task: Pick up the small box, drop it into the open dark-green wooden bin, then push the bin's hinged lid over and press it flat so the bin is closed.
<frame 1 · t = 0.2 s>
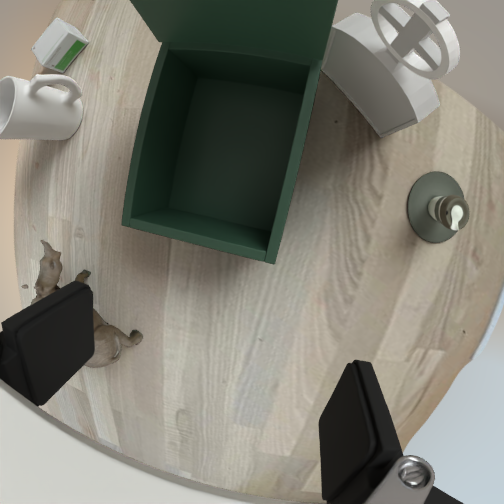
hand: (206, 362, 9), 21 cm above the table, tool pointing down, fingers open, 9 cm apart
small box: (70, 50, 27), on the table
bin: (235, 150, 28), on the table
mug: (76, 111, 29), on the table
gravestone: (360, 95, 25), on the table
rhinoceros figurine: (95, 297, 35), on the table
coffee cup: (434, 208, 27), on the table
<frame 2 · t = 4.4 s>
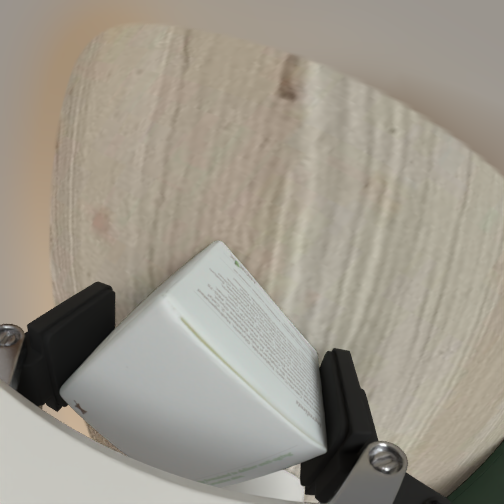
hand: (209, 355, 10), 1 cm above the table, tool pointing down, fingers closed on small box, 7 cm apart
small box: (217, 337, 11), on the table, touching gripper
bin: (493, 481, 12), on the table
mug: (277, 482, 13), on the table
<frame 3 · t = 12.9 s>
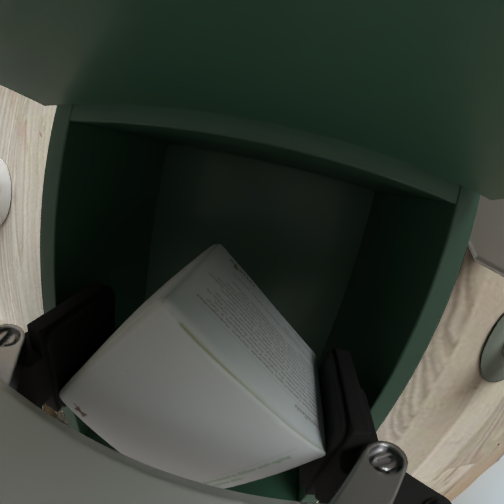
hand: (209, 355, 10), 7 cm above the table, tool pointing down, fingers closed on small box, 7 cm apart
small box: (216, 339, 11), point 6 cm above the table, touching gripper
bin: (242, 286, 17), on the table
mug: (4, 184, 18), on the table
gravestone: (456, 186, 14), on the table
when the fingers open (10 cm above the table, at t = 36.9 s): small box drops 9 cm, resting on bin.
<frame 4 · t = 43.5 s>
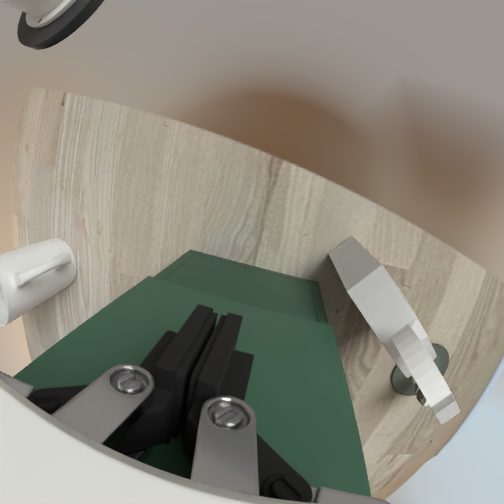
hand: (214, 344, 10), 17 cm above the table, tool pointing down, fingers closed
bin: (236, 335, 30), on the table
mug: (68, 258, 31), on the table
gravestone: (366, 281, 27), on the table
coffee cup: (418, 370, 29), on the table
bin lid: (203, 386, 11), point 17 cm above the table, hinge at 91.1°, touching gripper
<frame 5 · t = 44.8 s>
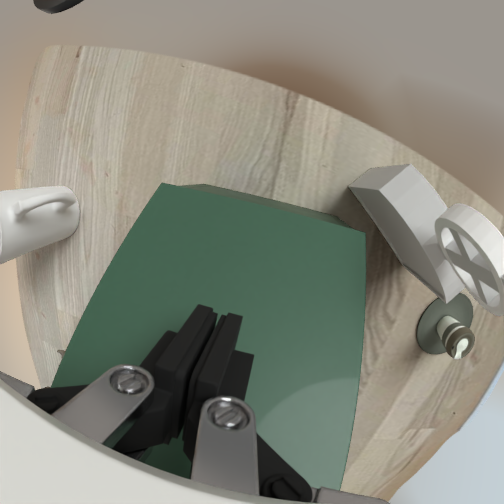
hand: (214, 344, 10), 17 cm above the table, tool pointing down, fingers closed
bin: (251, 280, 28), on the table
mug: (71, 206, 29), on the table
gravestone: (387, 218, 25), on the table
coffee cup: (442, 324, 27), on the table
bin lid: (218, 342, 12), point 16 cm above the table, hinge at 52.2°, touching gripper
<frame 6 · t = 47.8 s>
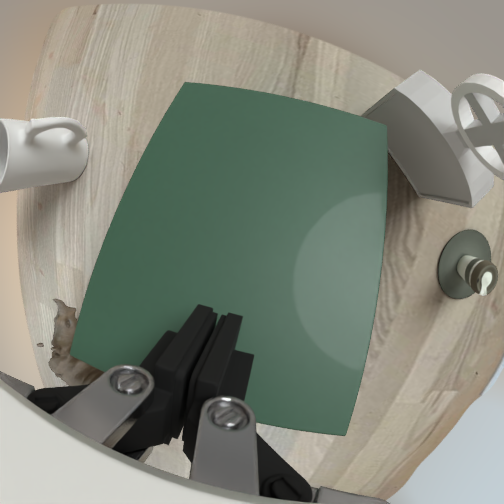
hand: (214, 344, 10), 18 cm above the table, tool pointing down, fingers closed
mug: (80, 149, 27), on the table
gravestone: (400, 148, 24), on the table
rhinoceros figurine: (113, 347, 33), on the table
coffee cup: (462, 265, 25), on the table
bin lid: (248, 222, 13), point 14 cm above the table, hinge at 32.7°
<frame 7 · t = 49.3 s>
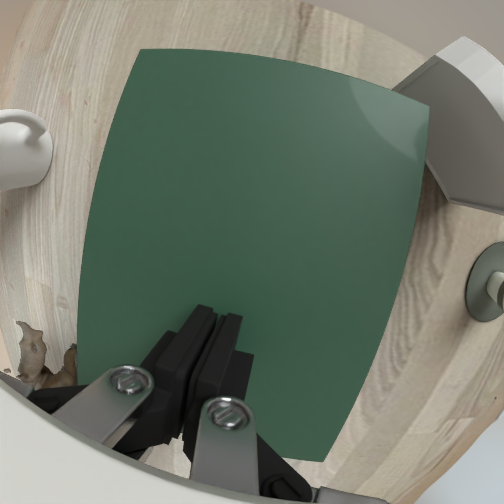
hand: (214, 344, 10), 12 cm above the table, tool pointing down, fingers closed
mug: (44, 147, 22), on the table
gravestone: (427, 142, 18), on the table
rhinoceros figurine: (89, 371, 28), on the table
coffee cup: (492, 283, 20), on the table
bin lid: (231, 265, 11), point 11 cm above the table, hinge at 9.2°, touching gripper
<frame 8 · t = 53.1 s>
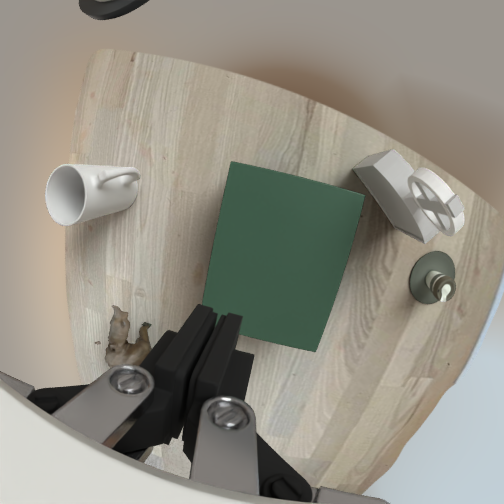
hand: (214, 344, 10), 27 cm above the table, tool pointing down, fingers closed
mug: (129, 184, 38), on the table
gravestone: (382, 192, 34), on the table
rhinoceros figurine: (154, 343, 43), on the table
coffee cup: (430, 278, 35), on the table
bin lid: (277, 263, 28), point 9 cm above the table, hinge at 1.3°
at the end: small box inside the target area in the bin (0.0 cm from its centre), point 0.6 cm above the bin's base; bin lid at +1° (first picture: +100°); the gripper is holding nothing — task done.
